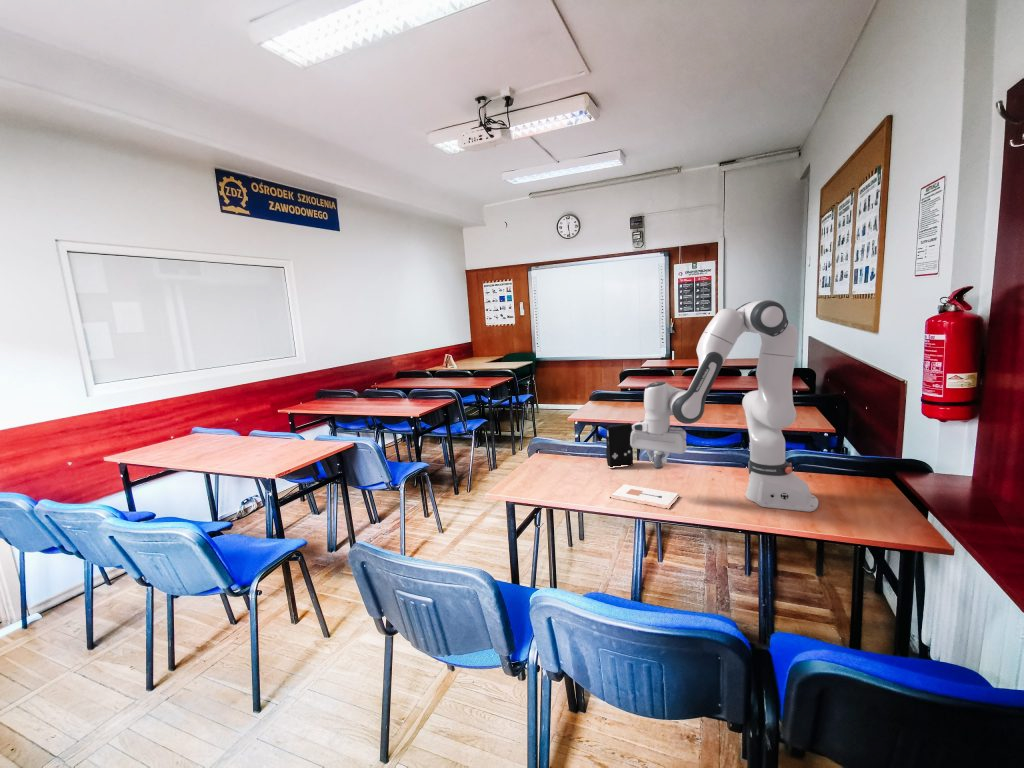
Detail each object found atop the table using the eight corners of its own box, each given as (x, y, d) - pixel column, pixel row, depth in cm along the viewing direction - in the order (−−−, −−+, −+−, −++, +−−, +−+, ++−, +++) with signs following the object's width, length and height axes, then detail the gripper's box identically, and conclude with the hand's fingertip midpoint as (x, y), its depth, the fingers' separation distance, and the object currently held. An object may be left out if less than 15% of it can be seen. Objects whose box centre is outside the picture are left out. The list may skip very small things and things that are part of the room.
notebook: (680, 496, 169) (680, 493, 169) (668, 509, 159) (668, 506, 159) (623, 486, 183) (623, 483, 183) (609, 498, 173) (609, 494, 173)
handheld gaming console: (610, 469, 204) (608, 427, 201) (606, 466, 209) (603, 425, 206) (634, 465, 207) (632, 424, 204) (628, 462, 212) (627, 422, 209)
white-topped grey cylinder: (664, 466, 166) (663, 448, 165) (661, 469, 164) (660, 451, 163) (655, 465, 168) (655, 447, 167) (652, 468, 166) (651, 450, 165)
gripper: (688, 426, 160) (689, 462, 162) (634, 421, 172) (635, 455, 174) (683, 430, 155) (684, 468, 157) (627, 425, 167) (629, 460, 169)
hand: (658, 461), depth 166 cm, fingers closed on white-topped grey cylinder, 3 cm apart
